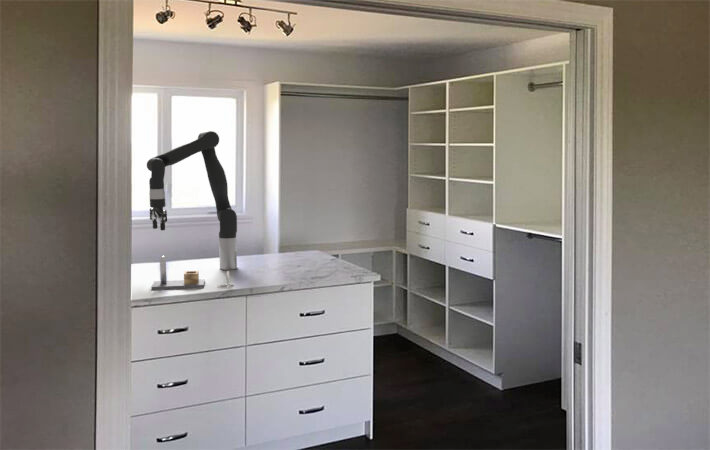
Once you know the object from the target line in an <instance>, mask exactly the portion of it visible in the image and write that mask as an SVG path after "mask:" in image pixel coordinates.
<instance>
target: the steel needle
mask: <svg viewBox="0 0 710 450" xmlns="http://www.w3.org/2000/svg"><path fill="white" fill-rule="evenodd" d="M159 272H160V274H159V275H160V276H159V277H160V281H161V284H167V281H168V280H167V277H168V275H167V258H166V256H164V255H161V256H160V257H159Z"/></svg>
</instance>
